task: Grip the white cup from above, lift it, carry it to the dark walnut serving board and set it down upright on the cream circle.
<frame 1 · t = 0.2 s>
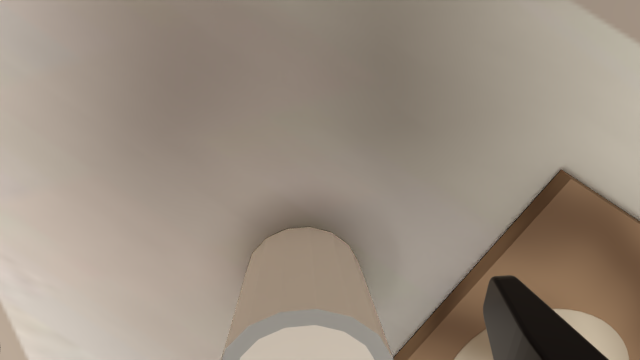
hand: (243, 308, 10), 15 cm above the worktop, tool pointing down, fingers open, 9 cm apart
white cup: (303, 273, 28), on the worktop
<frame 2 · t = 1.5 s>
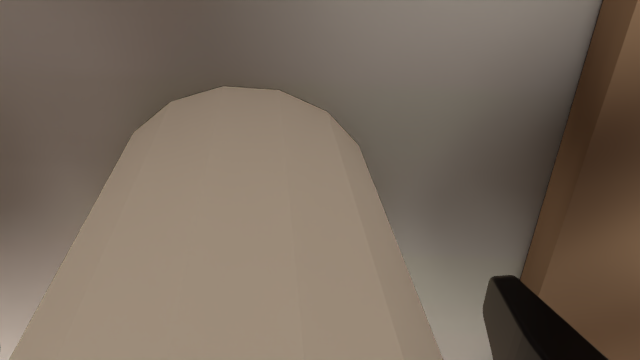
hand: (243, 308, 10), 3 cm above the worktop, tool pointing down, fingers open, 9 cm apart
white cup: (246, 190, 13), on the worktop
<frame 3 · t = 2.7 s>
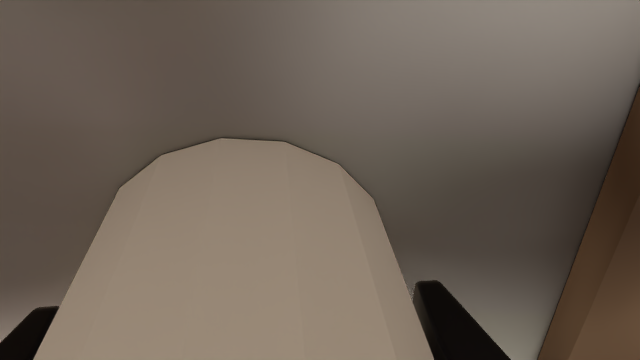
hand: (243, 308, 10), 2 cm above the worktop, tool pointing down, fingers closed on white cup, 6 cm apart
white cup: (247, 246, 12), on the worktop, touching gripper
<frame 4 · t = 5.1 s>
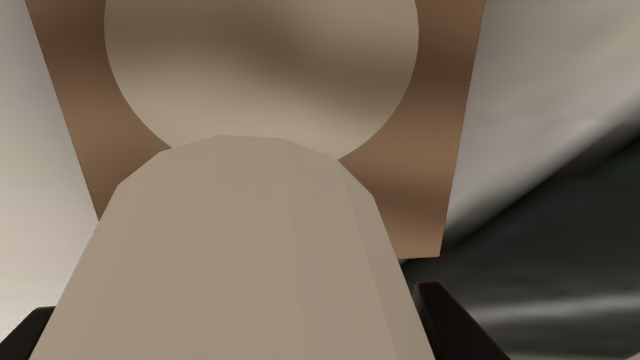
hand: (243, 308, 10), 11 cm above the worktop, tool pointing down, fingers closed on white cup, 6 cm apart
serving board: (265, 39, 19), on the worktop
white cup: (246, 243, 11), point 10 cm above the worktop, touching gripper
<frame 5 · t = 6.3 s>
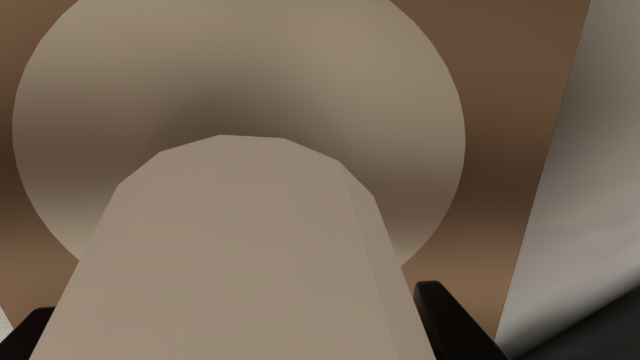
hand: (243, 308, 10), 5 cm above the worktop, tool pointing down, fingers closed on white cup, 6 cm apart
serving board: (249, 150, 14), on the worktop
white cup: (246, 243, 11), point 3 cm above the worktop, touching gripper
when the fingers open (4 cm above the worktop, at t = 7.4 s): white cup drops 1 cm, resting on serving board.
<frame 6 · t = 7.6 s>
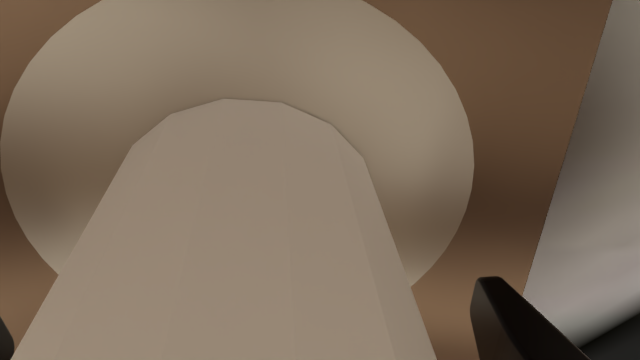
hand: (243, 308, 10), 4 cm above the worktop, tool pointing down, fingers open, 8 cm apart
serving board: (248, 172, 13), on the worktop
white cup: (248, 204, 13), point 1 cm above the worktop, touching serving board
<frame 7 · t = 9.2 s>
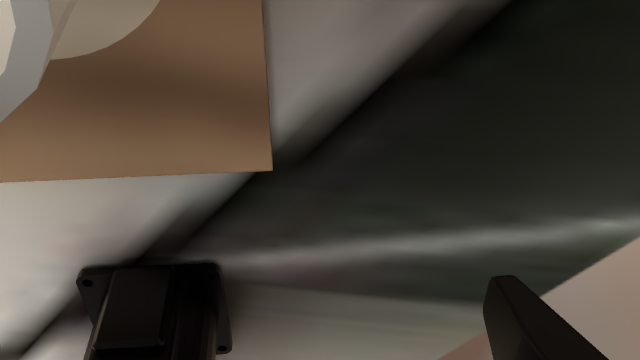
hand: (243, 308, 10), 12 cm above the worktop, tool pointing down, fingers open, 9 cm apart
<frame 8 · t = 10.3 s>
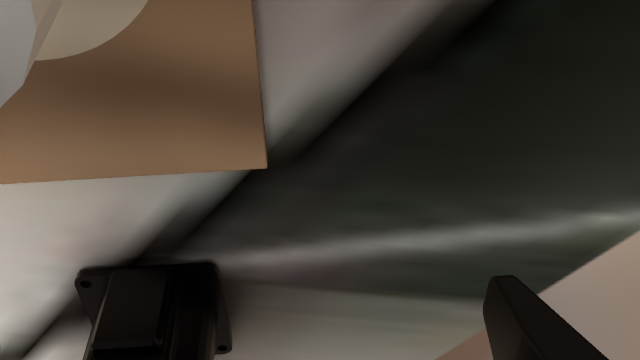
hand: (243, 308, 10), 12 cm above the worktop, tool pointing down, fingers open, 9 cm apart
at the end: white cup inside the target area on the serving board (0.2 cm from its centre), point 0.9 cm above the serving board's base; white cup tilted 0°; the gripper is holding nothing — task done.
